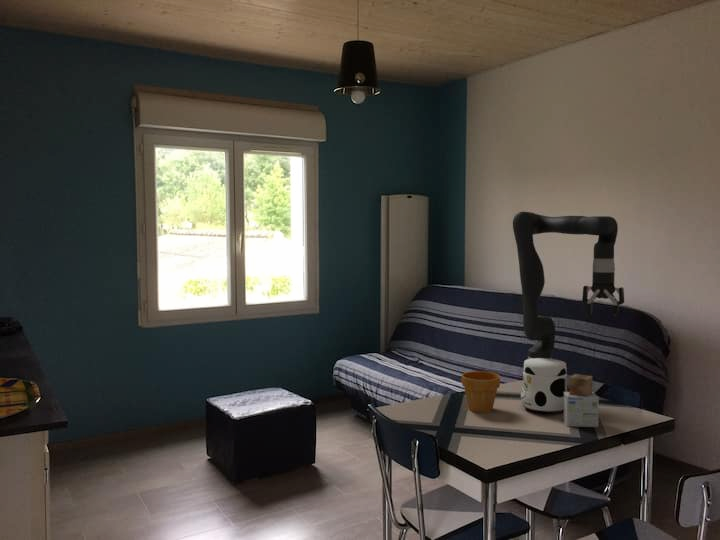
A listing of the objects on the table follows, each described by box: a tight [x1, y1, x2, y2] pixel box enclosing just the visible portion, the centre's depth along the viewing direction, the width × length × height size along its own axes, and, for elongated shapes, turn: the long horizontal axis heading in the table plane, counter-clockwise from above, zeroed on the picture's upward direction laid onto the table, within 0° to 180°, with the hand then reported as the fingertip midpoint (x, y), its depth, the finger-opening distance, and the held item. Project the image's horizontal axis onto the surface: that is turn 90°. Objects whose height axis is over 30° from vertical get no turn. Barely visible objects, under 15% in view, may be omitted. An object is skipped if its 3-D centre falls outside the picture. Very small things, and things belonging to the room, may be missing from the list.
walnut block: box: [569, 373, 593, 397], centre depth 212 cm, size 6×6×6 cm
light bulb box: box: [563, 391, 600, 428], centre depth 213 cm, size 11×7×11 cm, turn 84°
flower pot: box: [461, 370, 501, 413], centre depth 231 cm, size 14×14×13 cm
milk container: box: [520, 358, 569, 414], centre depth 230 cm, size 17×17×18 cm
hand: (602, 314), depth 226 cm, fingers open, 8 cm apart
